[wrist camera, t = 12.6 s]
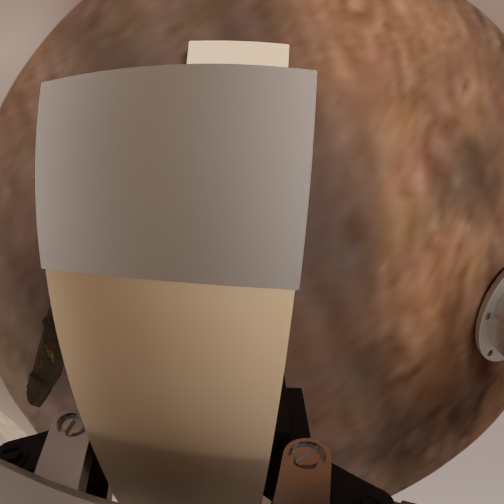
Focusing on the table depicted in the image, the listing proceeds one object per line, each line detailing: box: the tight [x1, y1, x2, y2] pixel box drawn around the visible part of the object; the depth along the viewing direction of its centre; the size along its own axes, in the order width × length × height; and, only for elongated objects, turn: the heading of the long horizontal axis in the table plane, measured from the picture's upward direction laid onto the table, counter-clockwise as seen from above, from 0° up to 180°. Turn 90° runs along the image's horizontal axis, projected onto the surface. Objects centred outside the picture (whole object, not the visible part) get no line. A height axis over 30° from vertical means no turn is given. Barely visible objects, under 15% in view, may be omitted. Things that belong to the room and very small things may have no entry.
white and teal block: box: [187, 41, 289, 67], centre depth 22 cm, size 7×3×10 cm
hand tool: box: [27, 308, 64, 407], centre depth 26 cm, size 19×4×5 cm, turn 143°
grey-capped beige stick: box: [35, 64, 317, 504], centre depth 9 cm, size 4×18×6 cm, turn 176°
